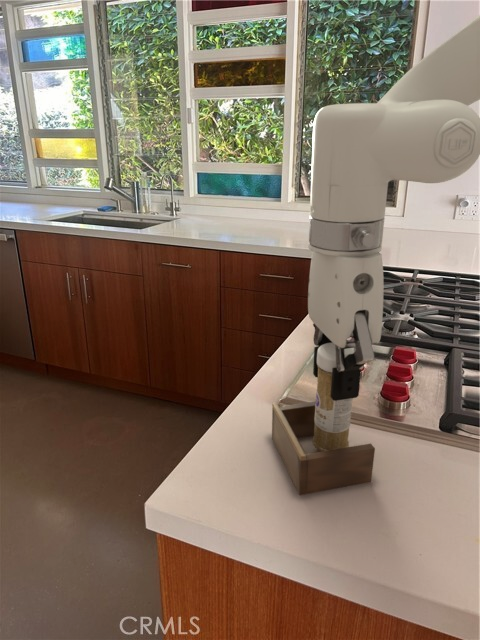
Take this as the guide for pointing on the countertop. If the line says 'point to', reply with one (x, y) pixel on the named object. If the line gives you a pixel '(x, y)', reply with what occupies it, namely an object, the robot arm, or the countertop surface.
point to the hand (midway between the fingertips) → (334, 384)
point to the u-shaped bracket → (320, 466)
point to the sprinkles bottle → (330, 404)
